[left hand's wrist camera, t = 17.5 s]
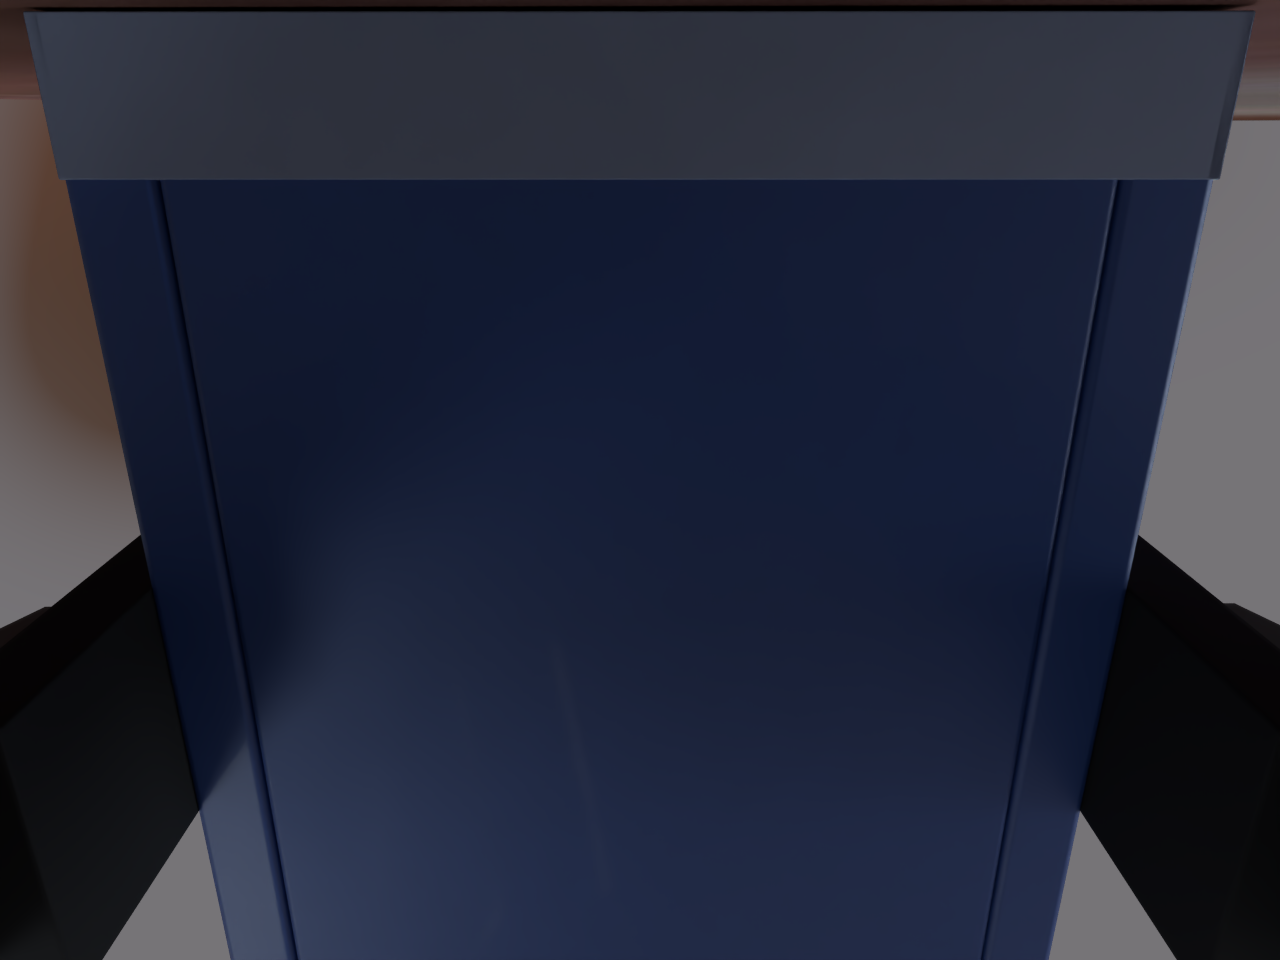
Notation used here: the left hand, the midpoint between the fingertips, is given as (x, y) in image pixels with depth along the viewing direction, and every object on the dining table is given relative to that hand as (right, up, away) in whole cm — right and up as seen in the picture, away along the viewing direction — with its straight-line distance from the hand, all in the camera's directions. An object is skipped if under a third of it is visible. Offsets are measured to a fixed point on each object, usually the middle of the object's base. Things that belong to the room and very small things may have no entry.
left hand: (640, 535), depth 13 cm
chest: (0, +7, +1) cm, 7 cm away
